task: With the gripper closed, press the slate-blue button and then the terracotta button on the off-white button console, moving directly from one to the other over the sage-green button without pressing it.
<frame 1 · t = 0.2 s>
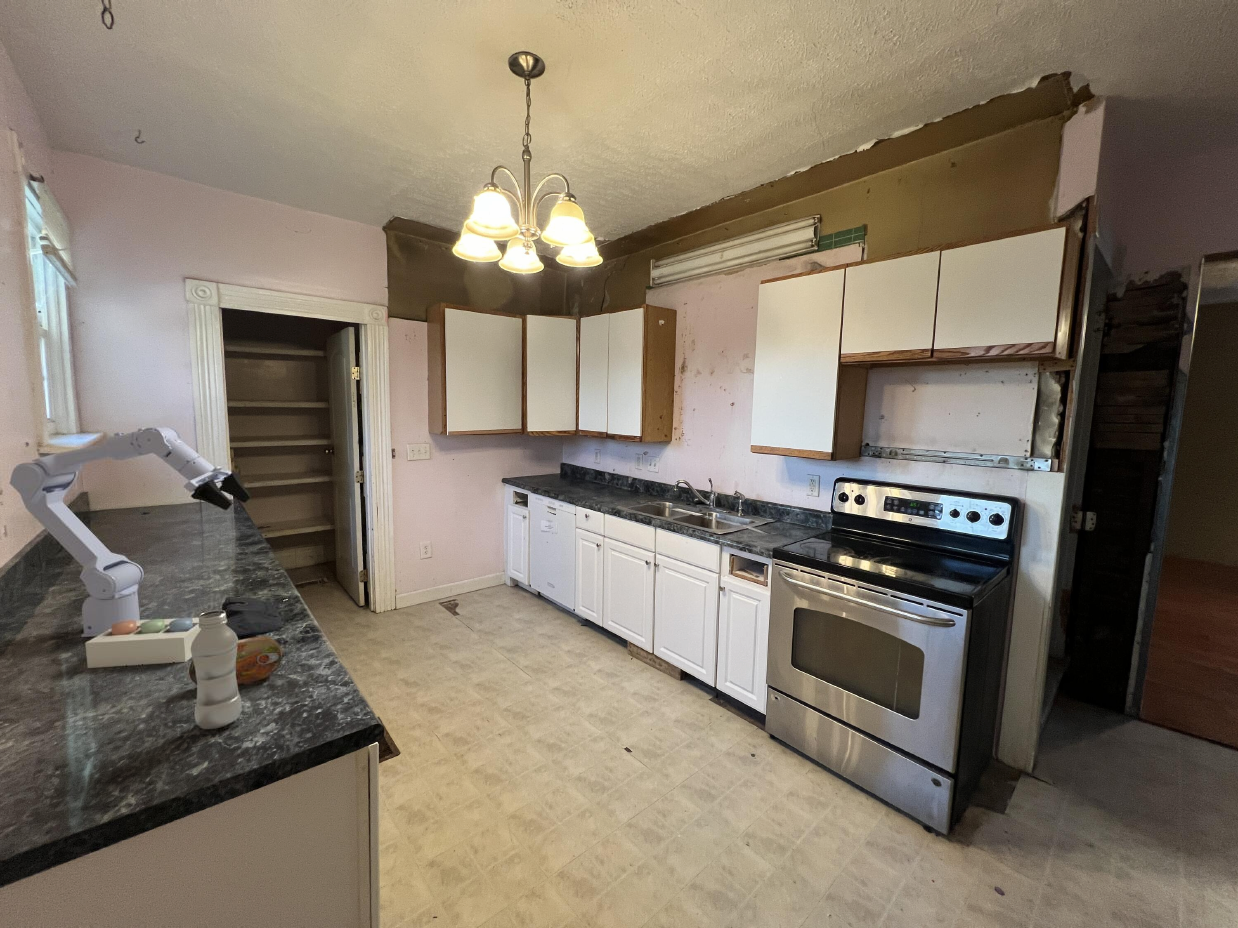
hand: (238, 503, 128), 31 cm above the counter, tool tilted 45°, fingers open, 7 cm apart
tin: (239, 681, 106), on the counter
button console: (155, 652, 116), on the counter
black fabric pouch: (245, 624, 133), on the counter
sage green button: (153, 628, 116), point 6 cm above the counter, slide at 0.0 cm
plastic bottle: (219, 724, 92), on the counter
slate blue button: (181, 627, 117), point 6 cm above the counter, slide at 0.0 cm
terracotta button: (124, 630, 115), point 6 cm above the counter, slide at 0.0 cm
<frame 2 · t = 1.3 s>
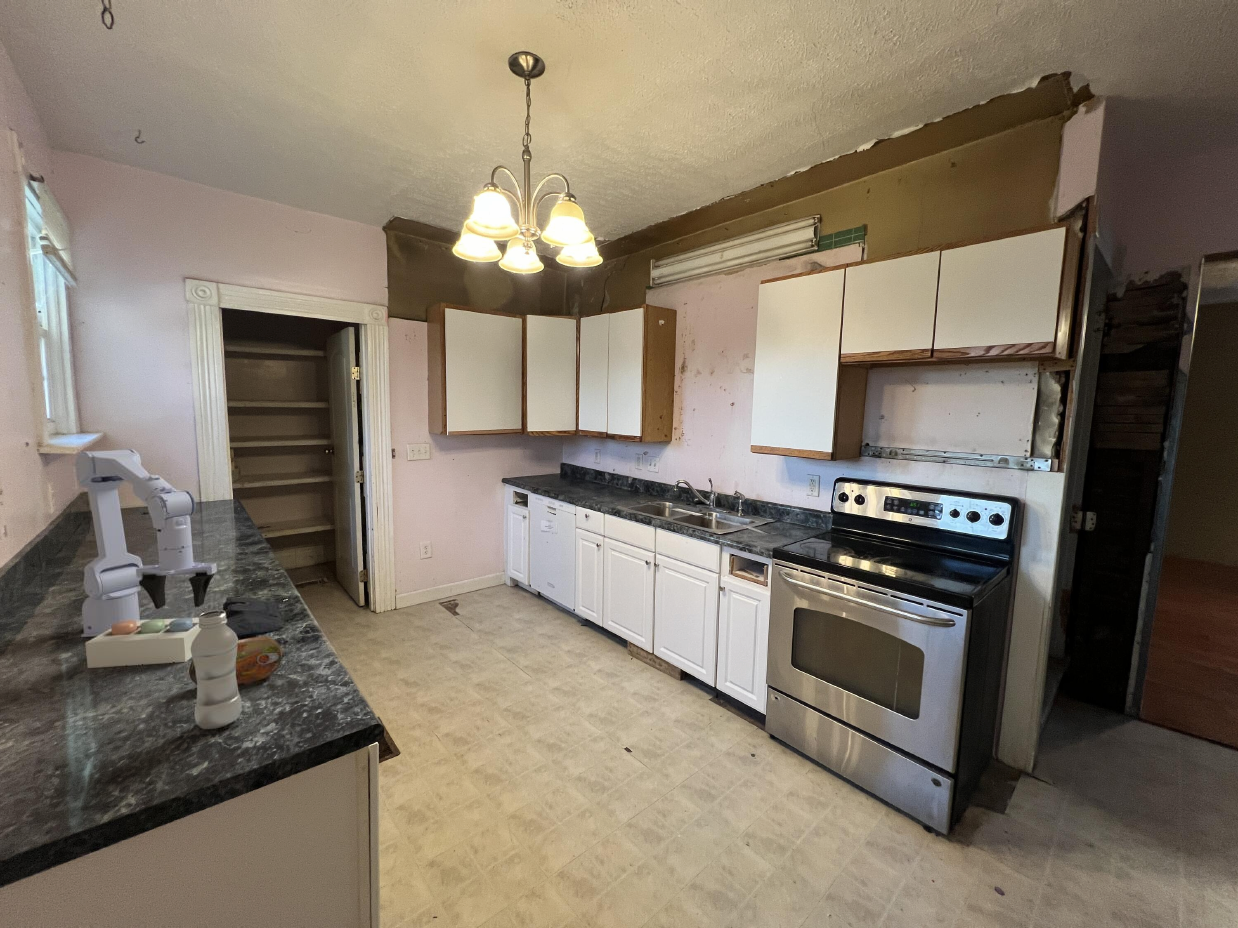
hand: (180, 606, 116), 10 cm above the counter, tool pointing down, fingers open, 7 cm apart
nothing on the counter moved.
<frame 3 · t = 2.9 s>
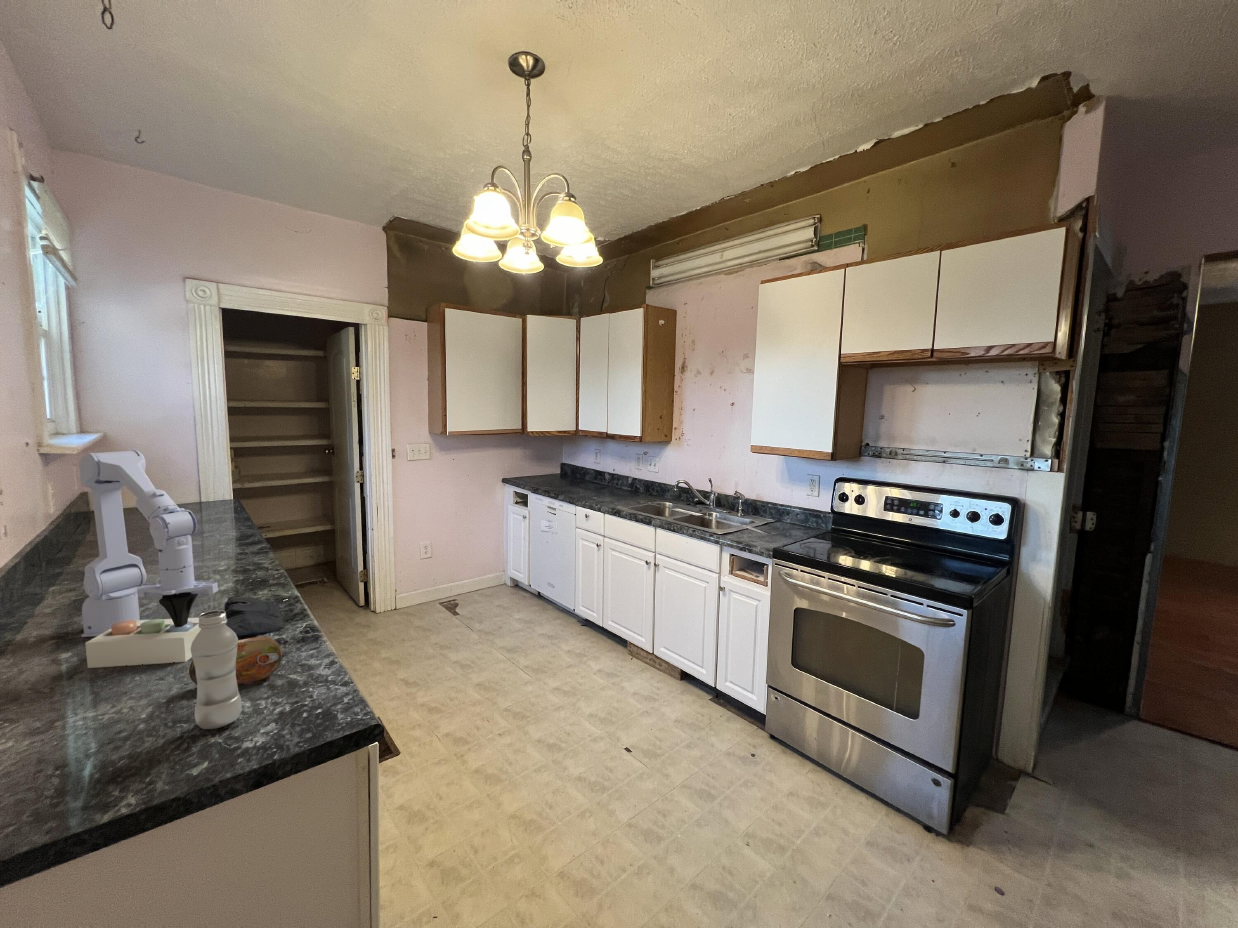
hand: (181, 625, 117), 6 cm above the counter, tool pointing down, fingers closed, pressing on slate blue button
slate blue button: (181, 630, 117), point 5 cm above the counter, slide at 0.9 cm, touching gripper
everything else where it was.
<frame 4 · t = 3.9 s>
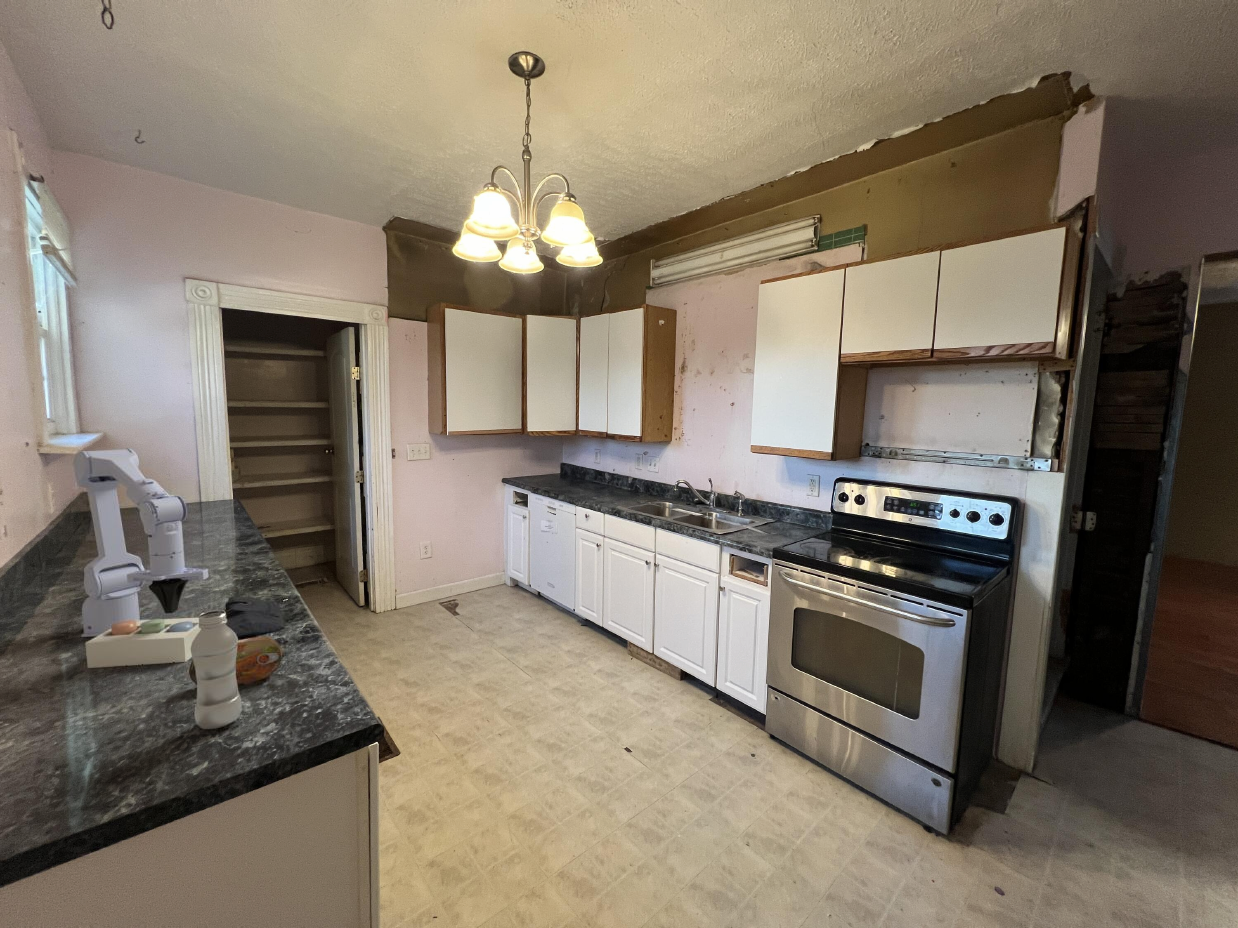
hand: (171, 611, 116), 9 cm above the counter, tool pointing down, fingers closed
slate blue button: (181, 630, 117), point 5 cm above the counter, slide at 0.9 cm
everything else where it was.
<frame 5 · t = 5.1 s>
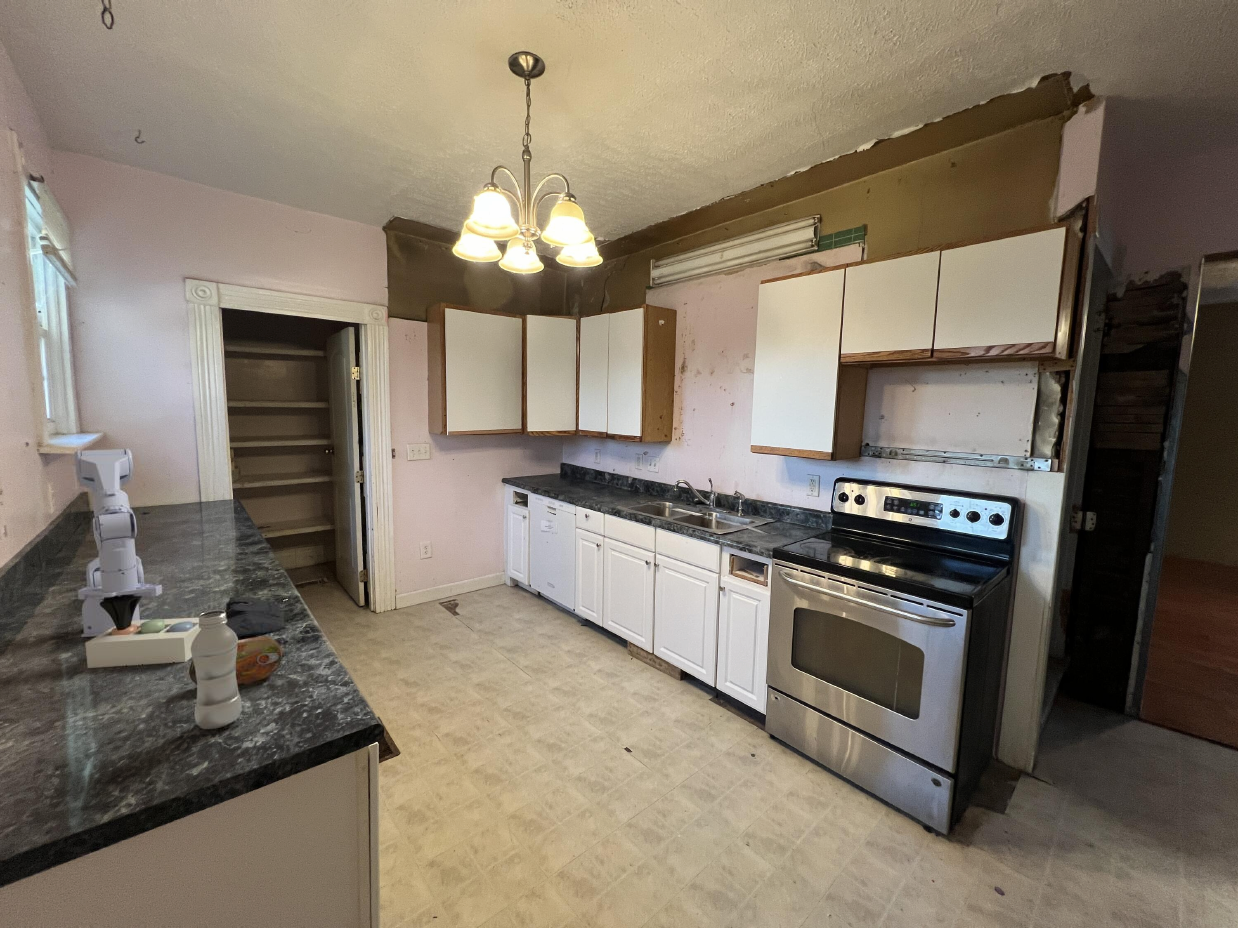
hand: (124, 628, 114), 6 cm above the counter, tool pointing down, fingers closed, pressing on terracotta button
terracotta button: (124, 633, 115), point 5 cm above the counter, slide at 0.9 cm, touching gripper
everything else where it was.
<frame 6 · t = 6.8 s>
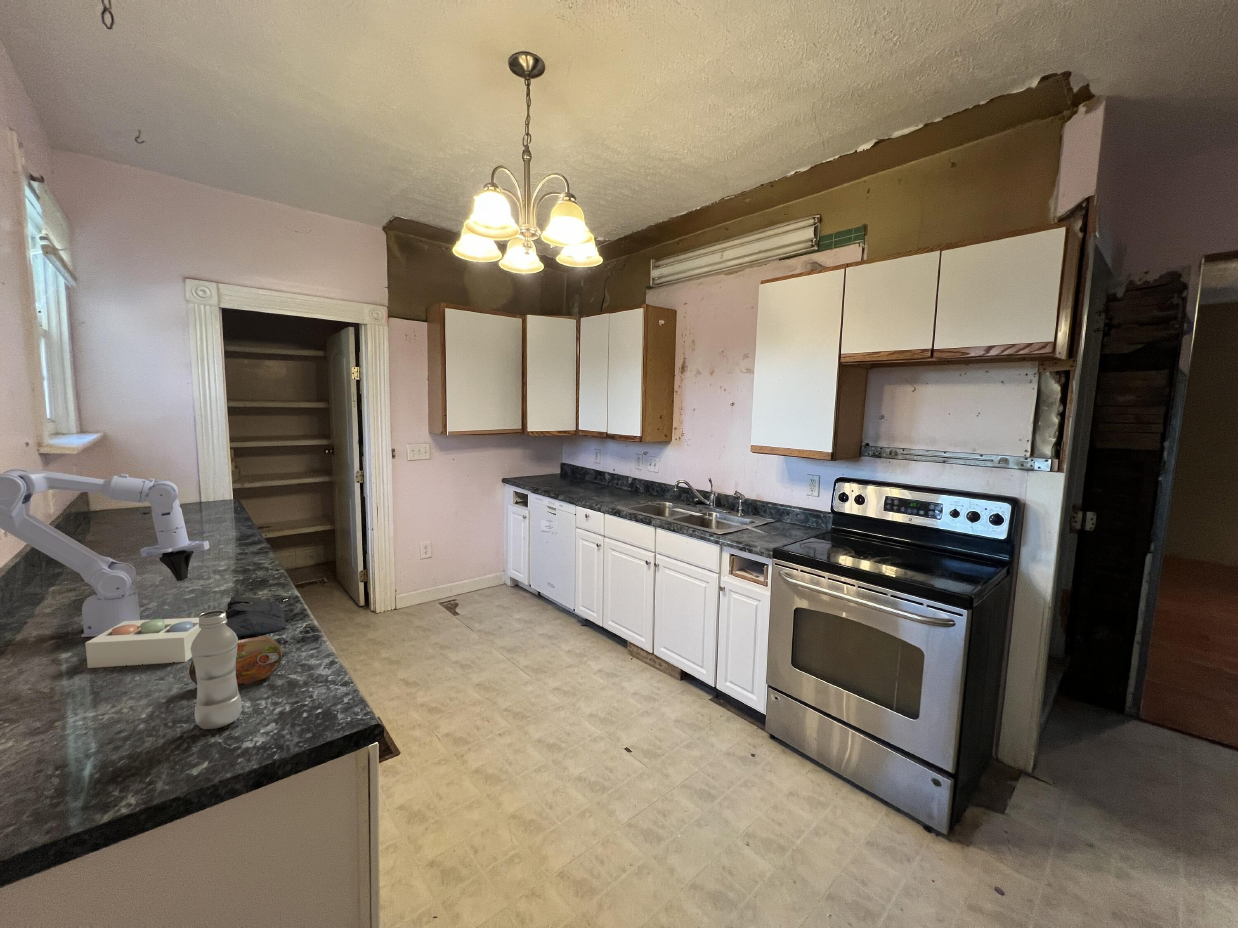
hand: (182, 579, 133), 10 cm above the counter, tool pointing down, fingers closed
terracotta button: (124, 634, 115), point 5 cm above the counter, slide at 0.9 cm
everything else where it was.
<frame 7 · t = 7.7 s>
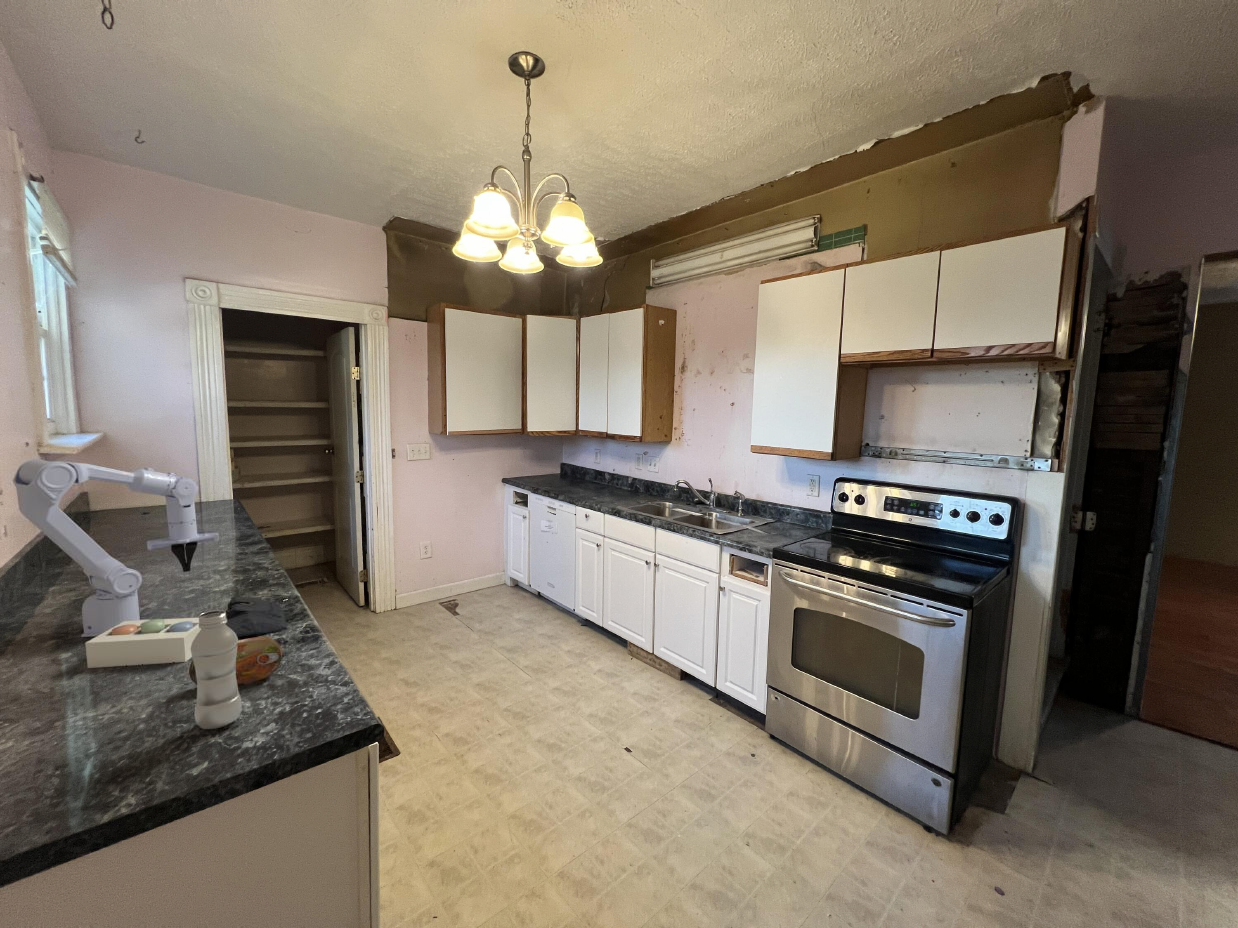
hand: (187, 570, 140), 10 cm above the counter, tool pointing down, fingers closed
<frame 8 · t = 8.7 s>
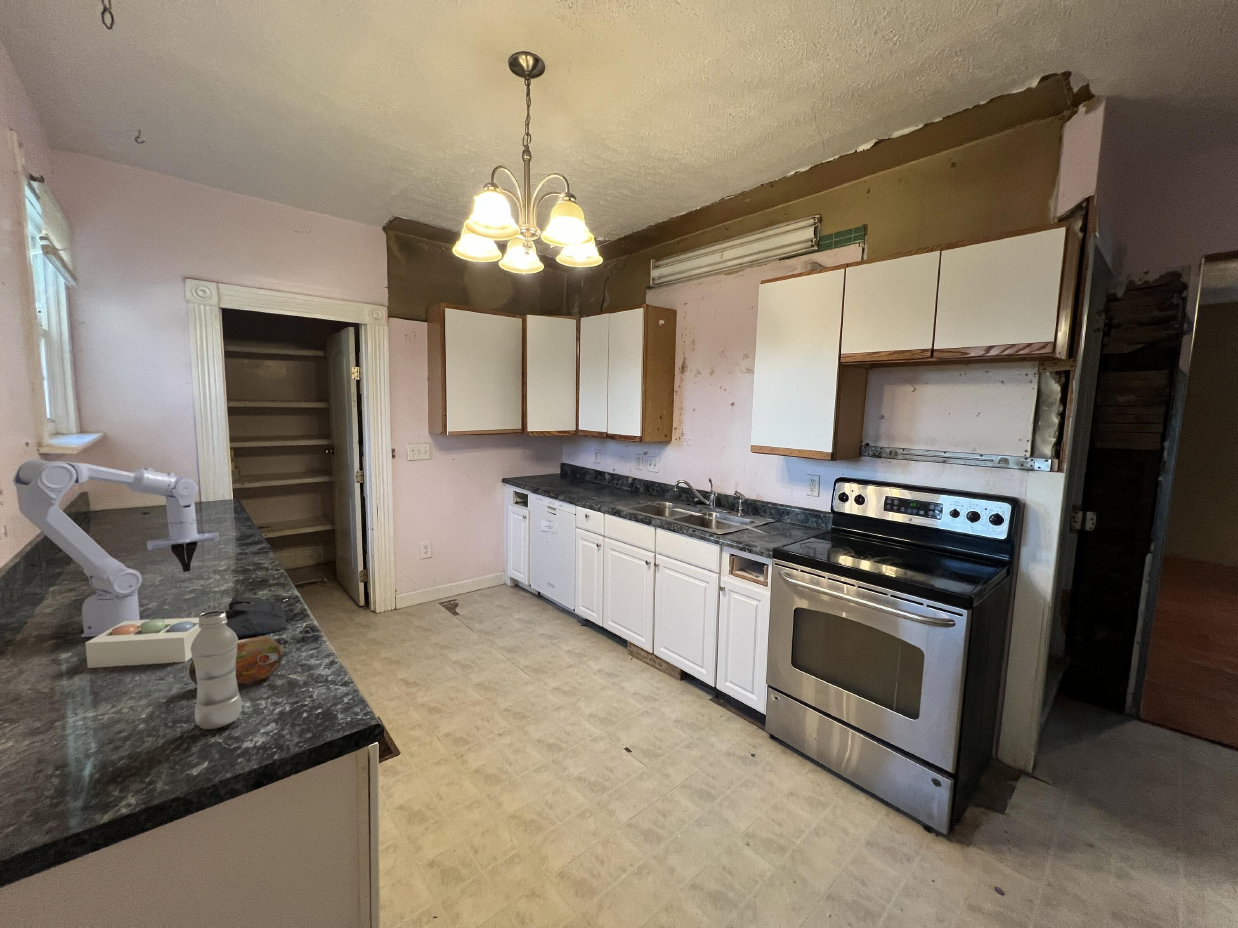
hand: (187, 570, 140), 10 cm above the counter, tool pointing down, fingers closed
at the end: slate blue button slide at 0.9 cm; terracotta button slide at 0.9 cm; sage green button slide at 0.0 cm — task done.
